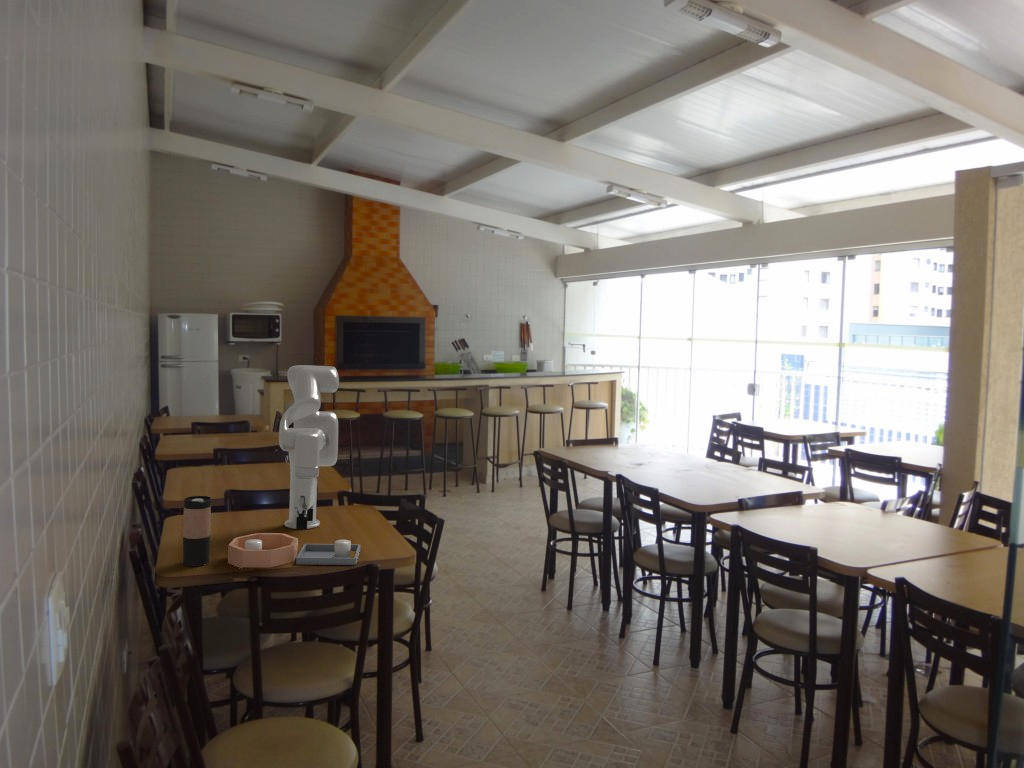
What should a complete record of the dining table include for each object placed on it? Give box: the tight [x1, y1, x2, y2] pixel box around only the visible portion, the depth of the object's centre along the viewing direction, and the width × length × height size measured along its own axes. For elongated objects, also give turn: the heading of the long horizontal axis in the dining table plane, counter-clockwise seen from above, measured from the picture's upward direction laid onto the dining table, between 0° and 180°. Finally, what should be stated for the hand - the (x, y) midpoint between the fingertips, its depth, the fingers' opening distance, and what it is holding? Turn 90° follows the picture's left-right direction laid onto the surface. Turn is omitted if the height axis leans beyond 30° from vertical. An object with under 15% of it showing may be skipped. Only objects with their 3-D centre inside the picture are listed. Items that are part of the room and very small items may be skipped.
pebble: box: [334, 539, 352, 558], centre depth 229 cm, size 5×5×5 cm
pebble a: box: [245, 539, 262, 550], centre depth 225 cm, size 5×5×5 cm
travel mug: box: [182, 495, 212, 567], centre depth 218 cm, size 8×8×20 cm
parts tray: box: [295, 543, 361, 566], centre depth 229 cm, size 15×18×3 cm
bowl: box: [227, 532, 299, 570], centre depth 225 cm, size 20×20×6 cm
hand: (304, 524), depth 227 cm, fingers open, 9 cm apart
